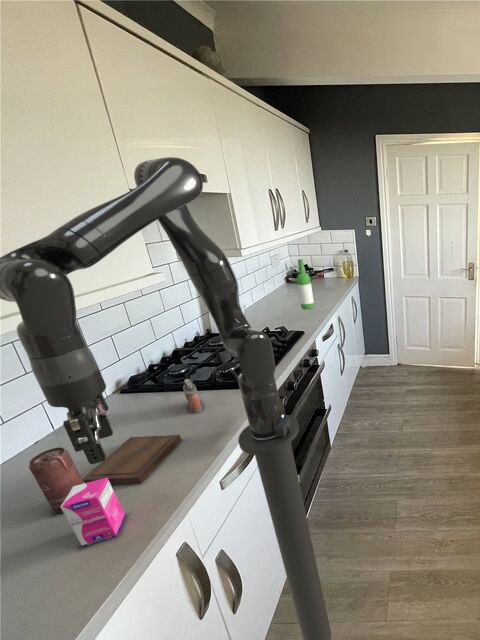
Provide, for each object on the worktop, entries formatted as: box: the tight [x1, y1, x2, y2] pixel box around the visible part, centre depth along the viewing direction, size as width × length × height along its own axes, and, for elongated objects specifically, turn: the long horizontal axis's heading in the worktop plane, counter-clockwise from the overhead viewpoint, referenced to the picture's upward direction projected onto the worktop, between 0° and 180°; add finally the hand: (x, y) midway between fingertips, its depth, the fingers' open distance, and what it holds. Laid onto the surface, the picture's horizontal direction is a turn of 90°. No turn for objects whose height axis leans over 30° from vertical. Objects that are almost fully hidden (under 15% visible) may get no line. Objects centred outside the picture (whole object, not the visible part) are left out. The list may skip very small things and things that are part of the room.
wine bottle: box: [296, 258, 315, 310], centre depth 210 cm, size 8×8×30 cm
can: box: [28, 447, 84, 514], centre depth 79 cm, size 6×6×14 cm
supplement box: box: [61, 478, 126, 548], centre depth 72 cm, size 6×6×12 cm
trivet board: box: [82, 434, 182, 486], centre depth 93 cm, size 14×16×2 cm
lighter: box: [182, 378, 203, 414], centre depth 115 cm, size 8×3×10 cm, turn 43°
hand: (102, 448), depth 66 cm, fingers open, 8 cm apart
